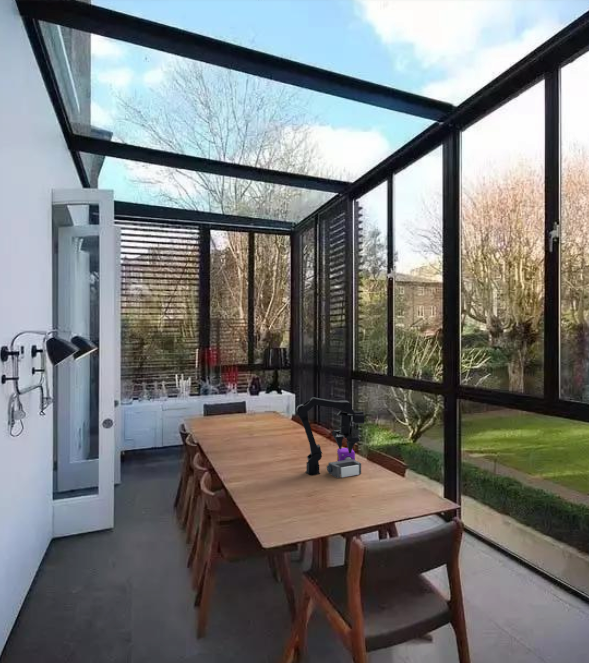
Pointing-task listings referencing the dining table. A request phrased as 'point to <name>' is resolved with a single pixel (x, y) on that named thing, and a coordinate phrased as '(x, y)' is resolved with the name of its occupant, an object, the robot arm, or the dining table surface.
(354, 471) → the side door
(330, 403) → the robot arm
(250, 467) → the dining table surface
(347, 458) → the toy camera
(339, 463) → the grey hollow rectangular block
